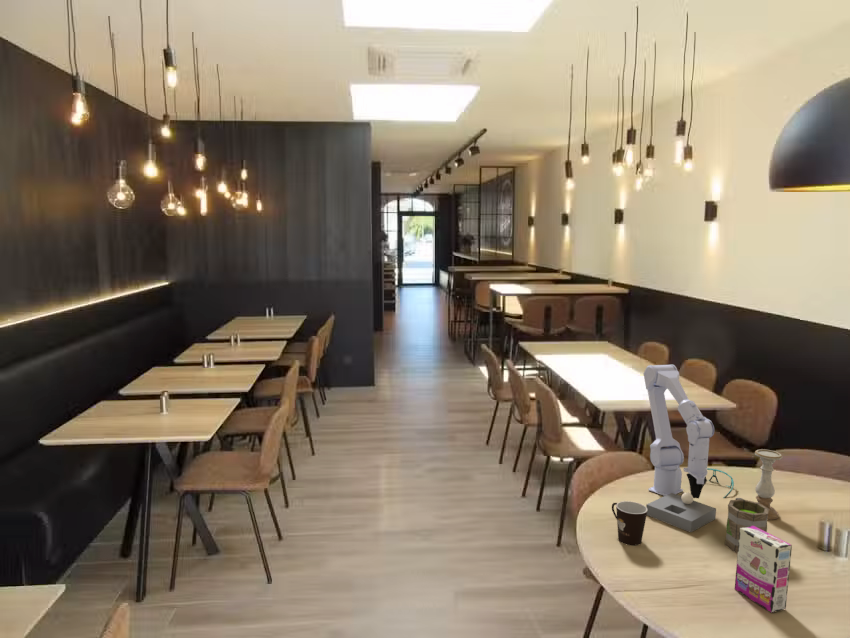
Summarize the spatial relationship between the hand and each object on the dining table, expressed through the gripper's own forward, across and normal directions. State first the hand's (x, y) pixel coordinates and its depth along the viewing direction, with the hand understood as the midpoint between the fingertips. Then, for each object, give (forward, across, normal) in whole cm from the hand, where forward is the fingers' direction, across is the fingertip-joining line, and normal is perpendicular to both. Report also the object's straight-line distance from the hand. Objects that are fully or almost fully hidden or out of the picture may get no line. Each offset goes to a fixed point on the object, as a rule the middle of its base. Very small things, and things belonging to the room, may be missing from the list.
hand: (695, 497), depth 204 cm
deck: (+4, +7, -5) cm, 9 cm away
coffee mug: (+4, +26, -22) cm, 34 cm away
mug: (+5, +20, +10) cm, 23 cm away
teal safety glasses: (+5, -22, +9) cm, 24 cm away
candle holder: (+4, -3, +21) cm, 22 cm away
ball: (-1, +4, -3) cm, 5 cm away
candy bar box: (+5, +50, +8) cm, 51 cm away
